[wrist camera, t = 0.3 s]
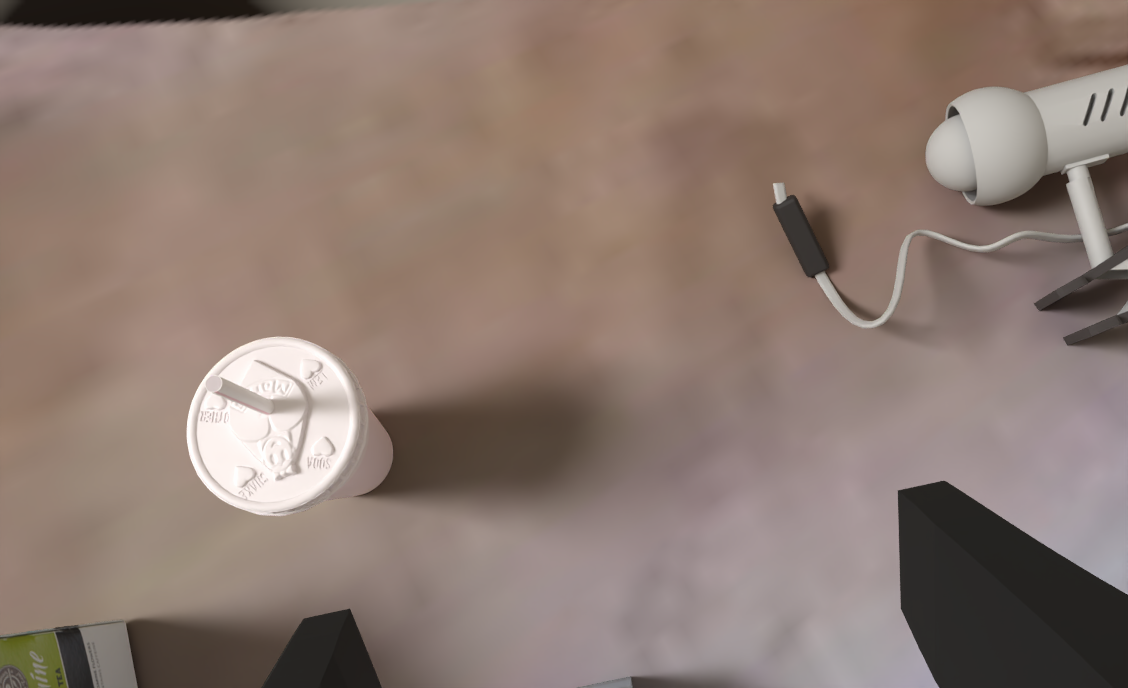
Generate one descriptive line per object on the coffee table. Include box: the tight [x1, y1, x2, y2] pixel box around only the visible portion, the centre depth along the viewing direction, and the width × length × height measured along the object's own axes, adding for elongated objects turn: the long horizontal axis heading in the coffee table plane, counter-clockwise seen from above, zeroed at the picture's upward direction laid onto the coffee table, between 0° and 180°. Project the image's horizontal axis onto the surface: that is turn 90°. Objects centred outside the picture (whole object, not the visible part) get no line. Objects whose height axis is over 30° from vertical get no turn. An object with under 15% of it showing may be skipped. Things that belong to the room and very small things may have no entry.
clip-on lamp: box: [773, 65, 1128, 345], centre depth 39 cm, size 12×6×18 cm
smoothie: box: [187, 337, 393, 516], centre depth 35 cm, size 6×6×14 cm
